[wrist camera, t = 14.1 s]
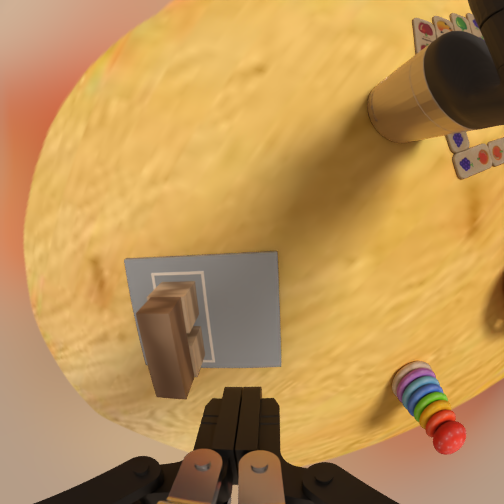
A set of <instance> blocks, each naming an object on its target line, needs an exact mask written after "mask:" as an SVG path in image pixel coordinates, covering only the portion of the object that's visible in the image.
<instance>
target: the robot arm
mask: <svg viewBox="0 0 504 504" xmlns="http://www.w3.org/2000/svg"><path fill="white" fill-rule="evenodd" d="M468 3H469V6H470V9H471V11H472V14H473V16H474V18H475V21H476V23H477V25H478V27H479V29H480V31H481V33H482V36H483V38H484V40H485V41H483V40H482V39H480V38H479V37H477V36H475V35H473V34H471V33H468V32H464V31H451V32H447V33H445V34H443V35H441V36H440V37H438V38H437V39H436V40H434V41H433V42H432V43H430V44H429V45H428V46H426V47H425V48H424V49H422V50H421V51H420V52H419V53H417V54H416V55H415V56H414V57H412V58H411V59H410V60H408V61H407V62H406V63H404V64H403V65H402V66H401V67H399V68H398V69H397V70H396V71H394V72H393V73H392V74H391V75H389V76H388V77H387V78H385V79H384V80H383V81H382V82H380V83H379V84H378V85H377V86H375V87H374V89H373V90H372V91H371V93H370V95H369V98H368V114H369V117H370V120H371V122H372V124H373V125H374V127H375V129H376V130H377V131H378V132H379V133H380V134H381V135H382V136H384V137H385V138H387V139H389V140H391V141H393V142H397V143H407V142H412V141H417V140H423V139H428V138H433V137H438V136H444V135H449V134H455V133H460V132H465V131H471V130H477V129H483V128H488V127H493V126H498V125H504V0H468ZM232 485H239V487H238V504H399V503H397V502H395V501H394V500H392V499H390V498H388V497H387V496H385V495H383V494H382V493H380V492H378V491H377V490H375V489H373V488H372V487H370V486H368V485H367V484H365V483H364V482H362V481H360V480H359V479H357V478H356V477H354V476H353V475H351V474H350V473H348V472H347V471H345V470H344V469H342V468H340V467H339V466H337V465H335V464H333V463H327V462H322V463H317V464H314V465H312V466H310V467H309V468H302V467H297V466H294V465H291V464H289V463H287V462H286V461H285V460H284V459H283V457H282V456H281V453H280V414H279V405H278V403H277V402H276V400H275V399H274V398H262V389H261V387H244V388H243V387H225V388H224V393H223V397H222V399H216V398H212V400H211V401H210V402H209V403H208V404H207V405H206V406H205V410H204V413H203V417H202V420H201V424H200V428H199V431H198V435H197V439H196V442H195V446H194V449H193V451H191V452H190V453H188V454H187V455H186V456H185V457H184V459H183V460H182V461H180V462H176V463H170V464H162V465H159V463H158V462H157V461H156V460H155V459H153V458H151V457H147V456H138V457H135V458H132V459H130V460H128V461H126V462H124V463H123V464H121V465H119V466H117V467H115V468H113V469H111V470H109V471H107V472H105V473H103V474H101V475H99V476H97V477H95V478H93V479H91V480H89V481H86V482H84V483H82V484H80V485H78V486H75V487H73V488H71V489H69V490H66V491H64V492H62V493H59V494H57V495H55V496H52V497H50V498H47V499H45V500H42V501H39V502H37V503H34V504H230V503H231V493H232Z"/></svg>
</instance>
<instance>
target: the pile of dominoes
mask: <svg viewBox="0 0 504 504" xmlns="http://www.w3.org/2000/svg"><path fill="white" fill-rule="evenodd" d="M450 20H451V22H450V21H449V20H447V19H444V18H442V17H439V16H434V17H433V18H432V21H433V24H432V23H430V22H428V21H425V20H422V19H419V18H414V19H413V20H412V25H413V33H414V42H415V52H416V54H417V53H419V52H420V51H421V50H422V49H424V48H425V47H426V46H428V45H429V44H430V43H432V42H433V41H434V40H436V39H437V38H438V37H440V36H441V35H443V34H445V33H447V32H451V31H464V32H468V33H471V34H473V35H475V36H477V37H479V38H480V39H482V40H483V41H485V40H484V38H483V36H482V33H481V31H480V29H479V27H478V25H477V23H476V21H475V18H474V16H473V14H470V13H467V14H466V18H465V17H463V16H460V15H457V14H455V13H451V14H450ZM446 138H447V141H448V145H449V148H450V150H451V151H452V152H453V153H454V155H453V157H452V160H453V163H454V166H455V170H456V173H457V176H458V177H459V178H460V179H464V178H467V177H469V176H472V175H474V174H477V173H479V172H481V171H484V170H486V169H488V168H491V166H492V165H493V166H498V165H500V164H503V163H504V137H503V138H500V139H497V140H494V141H491V142H488V143H487V145H486V144H480V145H477V146H474V147H471V148H469V140H468V137H467V134H466V131H465V132H460V133H455V134H449V135H446Z"/></svg>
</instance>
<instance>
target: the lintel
mask: <svg viewBox="0 0 504 504" xmlns="http://www.w3.org/2000/svg"><path fill="white" fill-rule="evenodd" d="M136 317H137V322H138V326H139V331H140V335H141V339H142V344H143V348H144V352H145V356H146V360H147V364H148V368H149V371H150V375H151V379H152V382H153V386H154V389H155V393H156V396H157V397H162V398H174V399H187V396H188V393H189V391H190V388H191V385H192V382H193V380H194V372H193V367H192V361H191V356H190V350H189V345H188V339H187V333H186V327H185V321H184V315H183V308H182V301H181V297H151V298H150V299H149V300H148V301H147V302H146V303H145V304H144V305H143V306H142V307H141V308H140V309H139V310H138V312H137V313H136Z"/></svg>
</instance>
